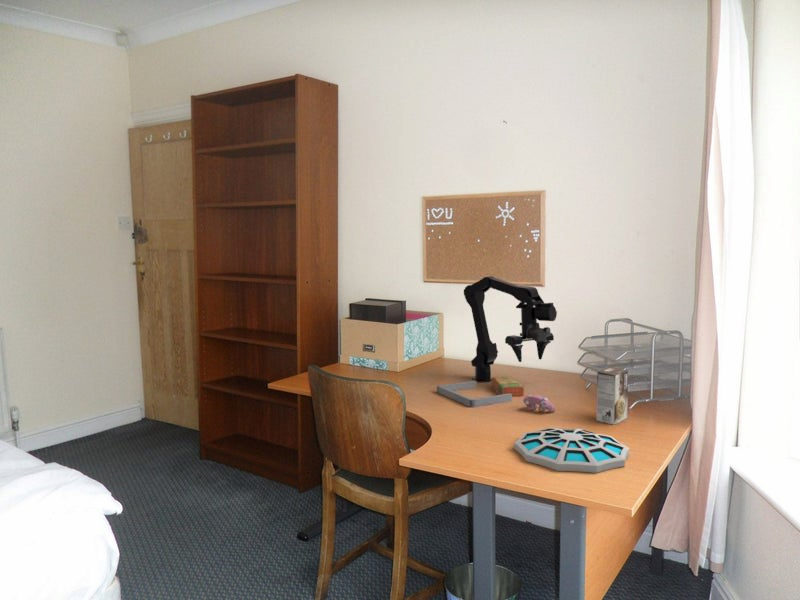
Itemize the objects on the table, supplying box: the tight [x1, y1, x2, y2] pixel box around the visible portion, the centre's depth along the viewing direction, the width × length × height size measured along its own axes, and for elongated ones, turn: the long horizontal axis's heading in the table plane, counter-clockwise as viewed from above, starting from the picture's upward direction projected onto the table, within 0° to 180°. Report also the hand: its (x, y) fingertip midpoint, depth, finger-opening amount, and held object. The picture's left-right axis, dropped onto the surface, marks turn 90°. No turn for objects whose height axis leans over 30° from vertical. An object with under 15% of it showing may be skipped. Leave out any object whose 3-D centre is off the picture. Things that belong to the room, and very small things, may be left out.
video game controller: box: [523, 394, 556, 413], centre depth 207 cm, size 10×5×7 cm, turn 47°
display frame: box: [436, 380, 513, 408], centre depth 226 cm, size 23×17×2 cm
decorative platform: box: [513, 427, 631, 474], centre depth 168 cm, size 31×29×5 cm
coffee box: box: [596, 366, 629, 426], centre depth 196 cm, size 9×6×16 cm
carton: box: [491, 376, 525, 398], centre depth 233 cm, size 8×16×4 cm, turn 5°
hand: (530, 360), depth 235 cm, fingers open, 9 cm apart
